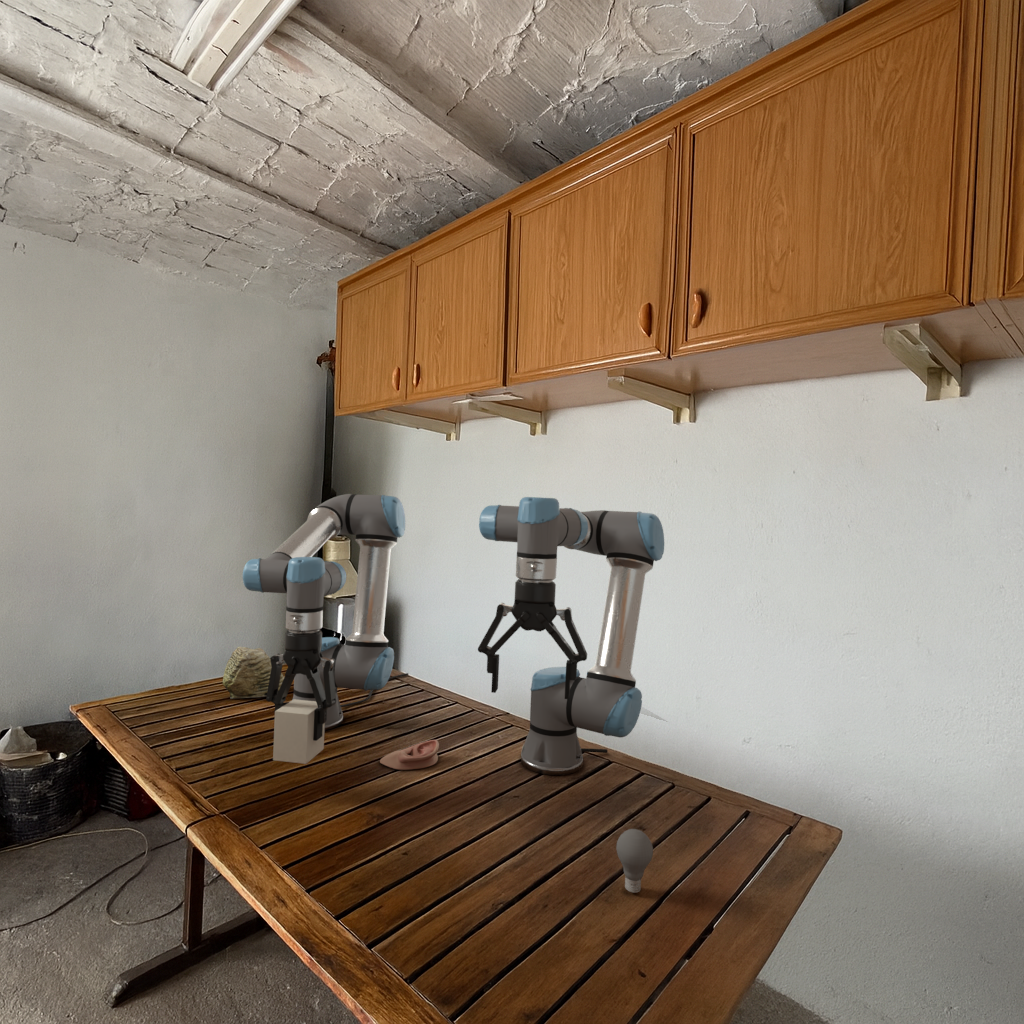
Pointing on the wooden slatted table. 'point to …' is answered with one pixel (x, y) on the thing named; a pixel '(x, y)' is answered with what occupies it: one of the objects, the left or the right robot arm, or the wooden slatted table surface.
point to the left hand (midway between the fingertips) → (299, 736)
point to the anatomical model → (413, 756)
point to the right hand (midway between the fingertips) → (530, 693)
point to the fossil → (248, 673)
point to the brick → (296, 732)
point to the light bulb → (634, 857)
